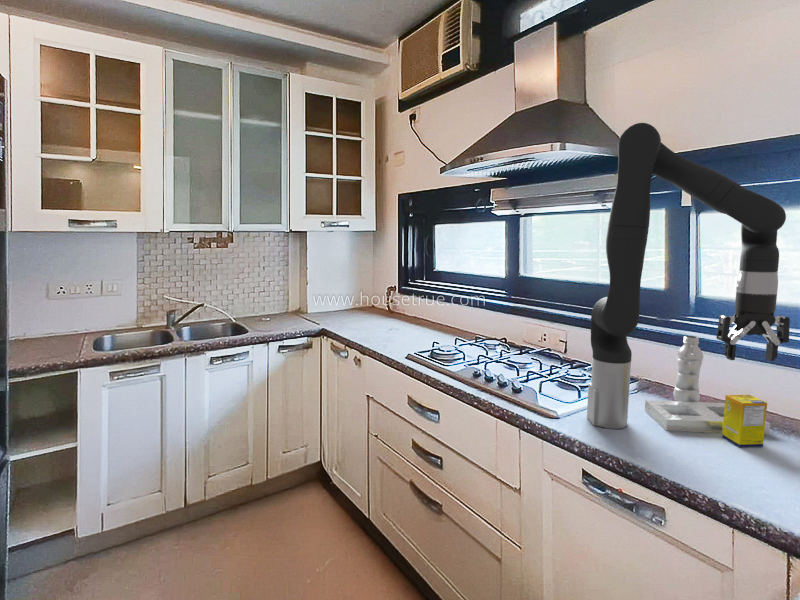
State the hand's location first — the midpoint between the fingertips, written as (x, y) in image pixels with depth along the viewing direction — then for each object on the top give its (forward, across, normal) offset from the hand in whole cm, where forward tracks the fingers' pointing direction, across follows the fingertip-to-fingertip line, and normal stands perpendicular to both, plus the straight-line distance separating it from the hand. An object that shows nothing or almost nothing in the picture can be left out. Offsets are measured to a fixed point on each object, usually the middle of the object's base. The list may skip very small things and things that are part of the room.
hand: (750, 359), depth 111 cm
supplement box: (+20, 0, 0) cm, 21 cm away
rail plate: (+20, -3, +12) cm, 24 cm away
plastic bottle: (+20, -1, +26) cm, 33 cm away
